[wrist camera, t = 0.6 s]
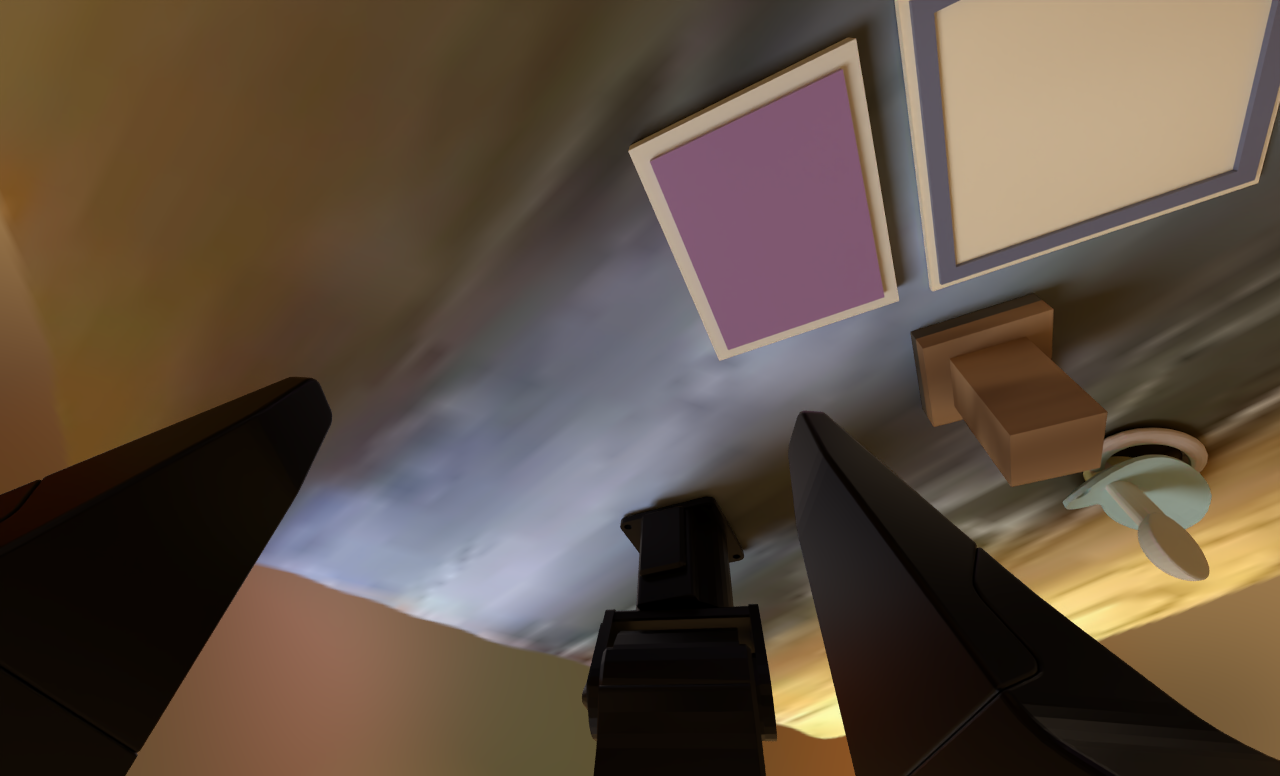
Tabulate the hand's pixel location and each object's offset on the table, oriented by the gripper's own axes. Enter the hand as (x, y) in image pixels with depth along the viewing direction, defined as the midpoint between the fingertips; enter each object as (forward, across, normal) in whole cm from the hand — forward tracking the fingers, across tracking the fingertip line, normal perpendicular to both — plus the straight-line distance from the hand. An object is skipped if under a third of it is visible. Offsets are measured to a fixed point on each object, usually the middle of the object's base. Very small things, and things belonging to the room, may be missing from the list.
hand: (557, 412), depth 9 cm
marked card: (+13, -16, -5) cm, 21 cm away
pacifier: (+14, -28, +13) cm, 34 cm away
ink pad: (+13, -6, 0) cm, 15 cm away
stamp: (+14, -17, +6) cm, 23 cm away
